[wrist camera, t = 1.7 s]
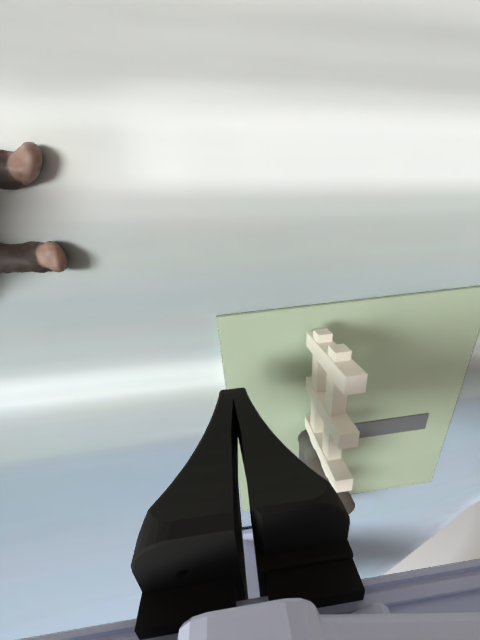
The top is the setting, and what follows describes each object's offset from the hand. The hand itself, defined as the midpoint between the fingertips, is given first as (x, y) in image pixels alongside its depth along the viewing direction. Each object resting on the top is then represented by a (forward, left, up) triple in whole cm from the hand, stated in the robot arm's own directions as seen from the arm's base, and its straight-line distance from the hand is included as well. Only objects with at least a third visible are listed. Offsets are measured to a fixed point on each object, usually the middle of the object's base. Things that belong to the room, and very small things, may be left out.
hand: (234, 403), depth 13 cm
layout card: (-6, -8, -3) cm, 11 cm away
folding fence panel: (-1, -6, -3) cm, 6 cm away
